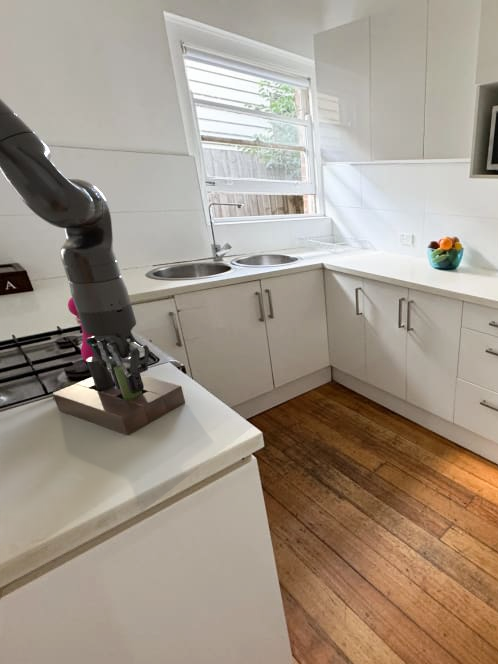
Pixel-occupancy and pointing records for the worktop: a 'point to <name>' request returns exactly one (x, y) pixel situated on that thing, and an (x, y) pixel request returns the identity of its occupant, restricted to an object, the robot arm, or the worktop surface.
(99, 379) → the charcoal peg
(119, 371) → the green peg
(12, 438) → the worktop surface
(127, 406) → the peg block
